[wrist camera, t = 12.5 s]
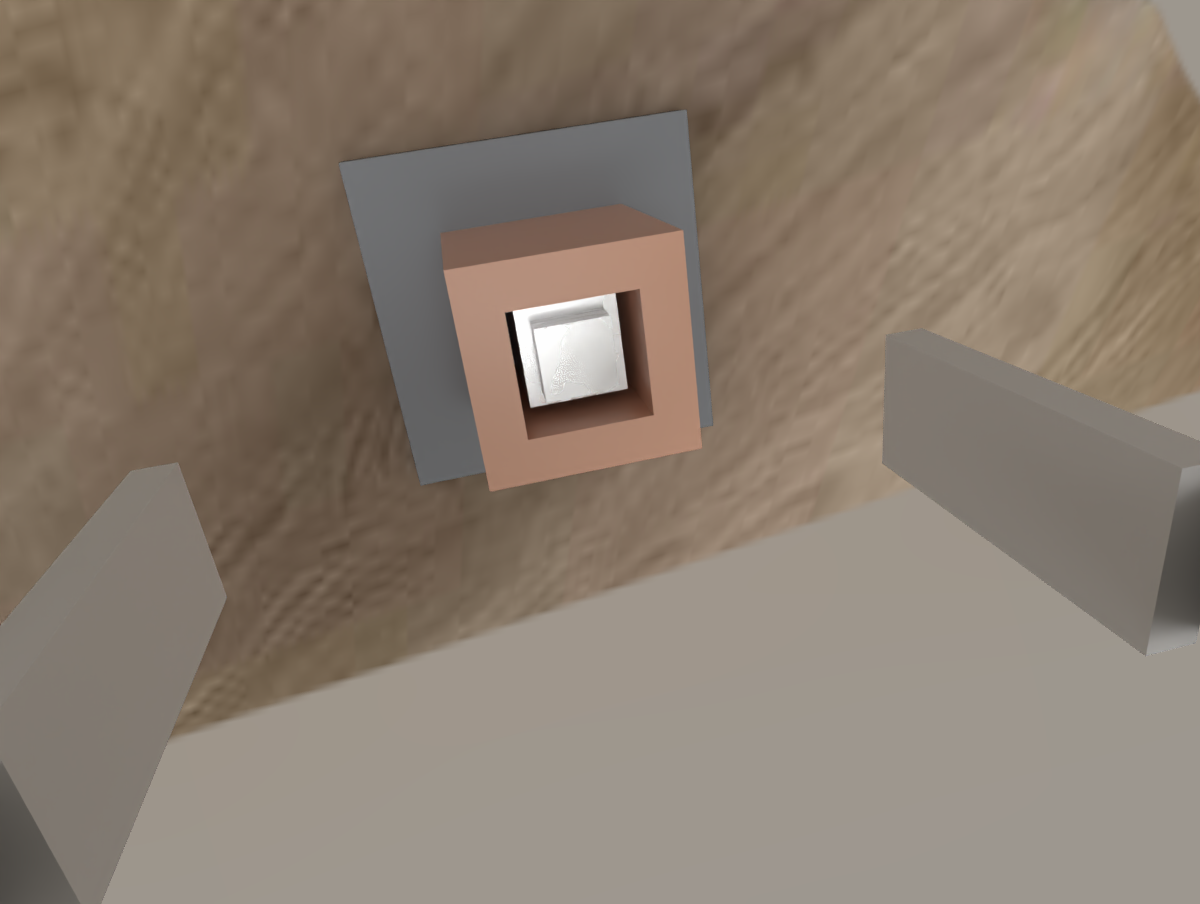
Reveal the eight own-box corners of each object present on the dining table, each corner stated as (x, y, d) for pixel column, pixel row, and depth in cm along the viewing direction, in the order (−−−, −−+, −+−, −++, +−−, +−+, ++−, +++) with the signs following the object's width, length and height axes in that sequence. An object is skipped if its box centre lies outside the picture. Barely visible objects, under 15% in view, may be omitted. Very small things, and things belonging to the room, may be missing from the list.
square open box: (476, 406, 35) (489, 491, 27) (440, 233, 32) (443, 270, 24) (641, 375, 36) (702, 448, 28) (621, 203, 33) (683, 230, 25)
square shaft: (512, 355, 35) (534, 419, 27) (496, 274, 33) (515, 317, 26) (592, 340, 35) (635, 398, 28) (580, 259, 34) (622, 298, 26)
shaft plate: (420, 474, 37) (420, 485, 36) (341, 161, 32) (338, 162, 31) (705, 416, 39) (713, 425, 38) (678, 110, 33) (686, 109, 32)
